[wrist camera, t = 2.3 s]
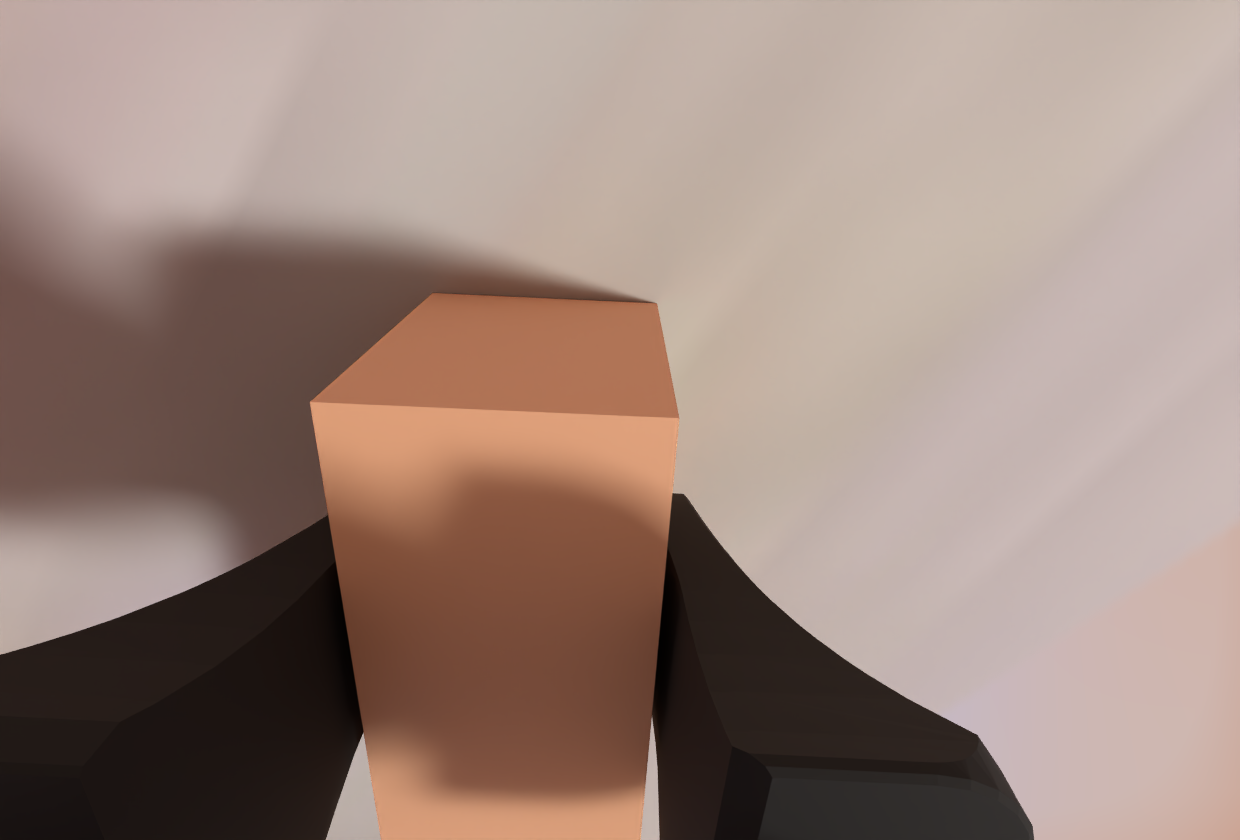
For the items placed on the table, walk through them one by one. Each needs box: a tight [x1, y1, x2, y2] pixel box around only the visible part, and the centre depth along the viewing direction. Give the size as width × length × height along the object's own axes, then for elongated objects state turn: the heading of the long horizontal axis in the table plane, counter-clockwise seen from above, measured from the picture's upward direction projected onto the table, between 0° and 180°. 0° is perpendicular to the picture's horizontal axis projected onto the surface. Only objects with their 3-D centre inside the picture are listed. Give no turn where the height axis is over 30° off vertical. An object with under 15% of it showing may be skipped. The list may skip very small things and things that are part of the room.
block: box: [310, 293, 679, 840], centre depth 11 cm, size 8×4×5 cm, turn 177°
